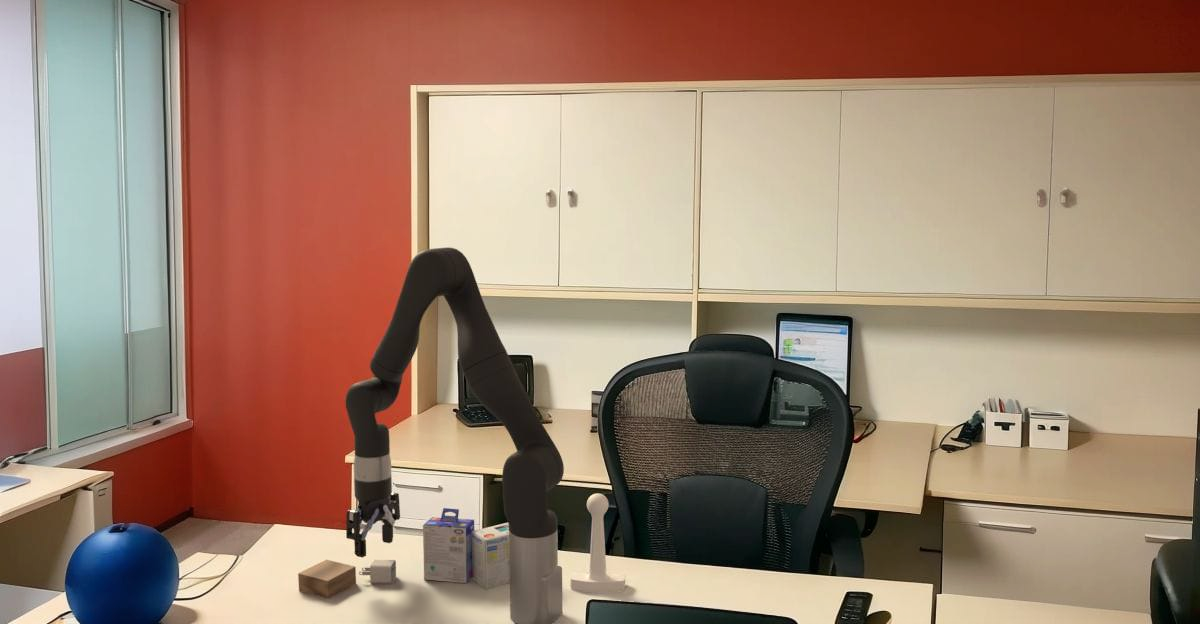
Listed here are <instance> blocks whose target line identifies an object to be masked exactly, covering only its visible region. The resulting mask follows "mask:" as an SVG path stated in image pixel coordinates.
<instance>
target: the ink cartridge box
mask: <svg viewBox="0 0 1200 624" xmlns="http://www.w3.org/2000/svg"><path fill="white" fill-rule="evenodd" d="M459 512H460V509H459V508H457V509H456V508H449V507H448V508H447V507H443V509H442V512H441V516H440V517H434V516H433V517H431V518H430V519H429V520H427V521H426V522H425V523H424V524H423V525H422V535H423V537H422V540H423V541H422V543H423V546H422V547H423V580H425V581H435V582H436V581H437V582H438V581H439V582H449V583H459V584H460V583H462V584H467V583H468V582H469V581H470V580H471V579H473V571H472V541H471V531H474V530H475V519H471V518H459V516H460V515H459V514H460V513H459ZM446 513H452V514H455V515H446Z"/></svg>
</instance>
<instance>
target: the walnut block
mask: <svg viewBox="0 0 1200 624" xmlns="http://www.w3.org/2000/svg"><path fill="white" fill-rule="evenodd" d="M356 569H357V567H356V566H354V565H350V564H346V563H342V562H337V561H333V560H330V559H325V560H323V561H321V562H319V563H317V564H314V565H313V566H310V567H309V568H307V569H304V570H303V571H300V572H298V573H297V575H298V591H299V592H303V593H306V594H309V595H314V596H318V597H321V598H324V599H328V600H329V599H331V598H332V597H334V596H336V595H338V594H340V593H341V592H343V591H345V590H347V589H349V588H351V587H352V586H354V585H356V584H357V571H356Z"/></svg>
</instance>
